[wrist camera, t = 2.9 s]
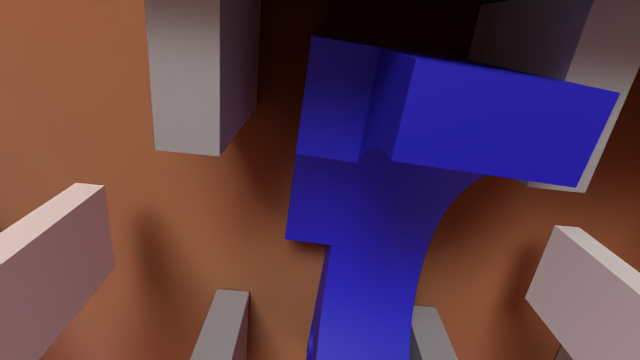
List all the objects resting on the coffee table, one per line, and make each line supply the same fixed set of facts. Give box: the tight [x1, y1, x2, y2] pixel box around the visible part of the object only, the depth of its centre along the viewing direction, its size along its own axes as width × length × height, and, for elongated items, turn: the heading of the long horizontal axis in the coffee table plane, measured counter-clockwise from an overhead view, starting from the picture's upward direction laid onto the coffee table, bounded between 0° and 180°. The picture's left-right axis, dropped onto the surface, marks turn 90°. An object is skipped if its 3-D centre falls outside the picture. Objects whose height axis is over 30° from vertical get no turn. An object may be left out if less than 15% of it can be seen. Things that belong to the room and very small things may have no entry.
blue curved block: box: [285, 34, 620, 360], centre depth 10 cm, size 12×4×6 cm, turn 171°
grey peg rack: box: [145, 0, 640, 360], centre depth 10 cm, size 25×16×6 cm, turn 84°
